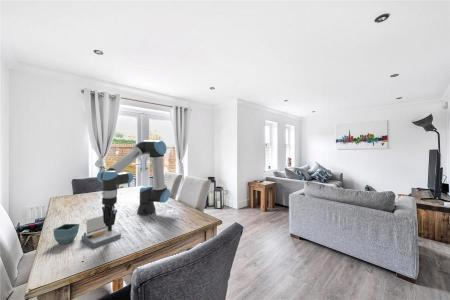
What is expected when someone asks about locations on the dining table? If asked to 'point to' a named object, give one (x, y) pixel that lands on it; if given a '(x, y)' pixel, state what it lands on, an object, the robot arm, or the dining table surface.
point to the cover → (95, 224)
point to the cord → (98, 233)
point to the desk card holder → (100, 238)
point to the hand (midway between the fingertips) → (108, 236)
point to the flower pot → (66, 233)
